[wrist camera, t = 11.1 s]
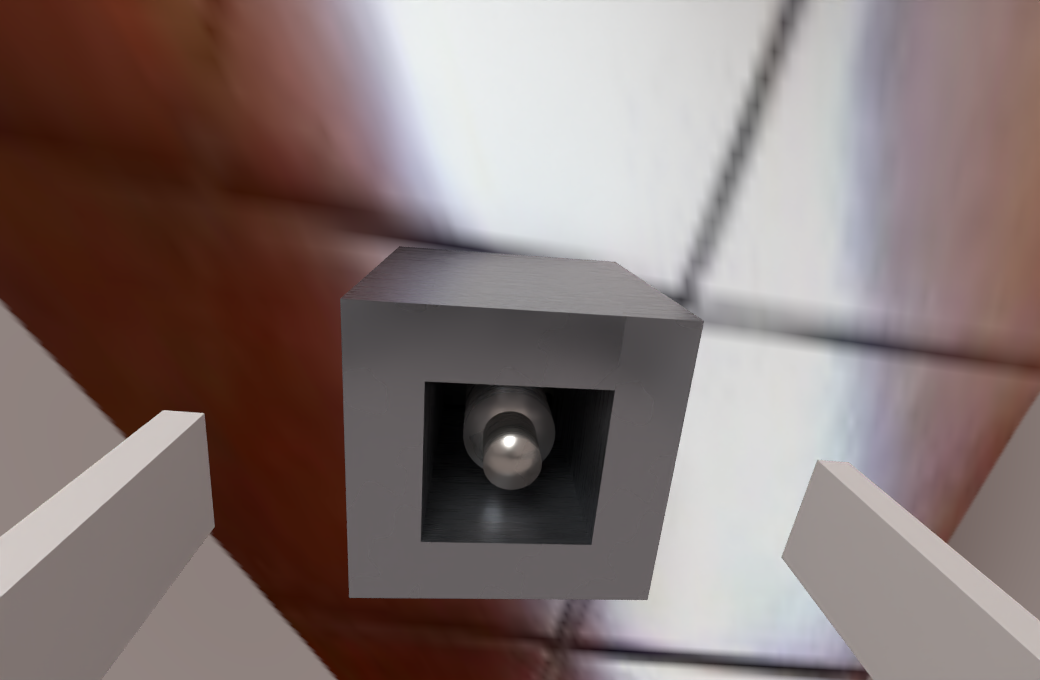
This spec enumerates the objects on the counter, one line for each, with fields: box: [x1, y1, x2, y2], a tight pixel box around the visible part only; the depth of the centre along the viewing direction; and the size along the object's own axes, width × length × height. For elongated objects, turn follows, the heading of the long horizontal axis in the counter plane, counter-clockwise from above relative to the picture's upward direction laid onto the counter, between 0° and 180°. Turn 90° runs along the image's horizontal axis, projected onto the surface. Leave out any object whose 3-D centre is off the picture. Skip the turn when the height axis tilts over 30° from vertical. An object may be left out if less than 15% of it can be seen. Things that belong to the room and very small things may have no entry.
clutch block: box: [340, 246, 704, 600], centre depth 16 cm, size 8×8×8 cm
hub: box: [444, 382, 555, 490], centre depth 17 cm, size 7×7×8 cm
